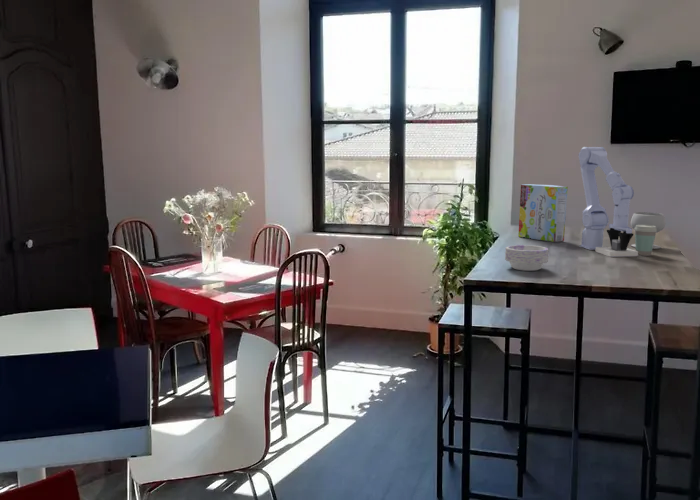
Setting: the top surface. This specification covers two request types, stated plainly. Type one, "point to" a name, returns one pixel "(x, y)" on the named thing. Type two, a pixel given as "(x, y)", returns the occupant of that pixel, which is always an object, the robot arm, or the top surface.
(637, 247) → the coffee cup
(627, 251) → the socket plate
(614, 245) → the plug
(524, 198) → the snack box
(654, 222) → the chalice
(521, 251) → the white round bowl
